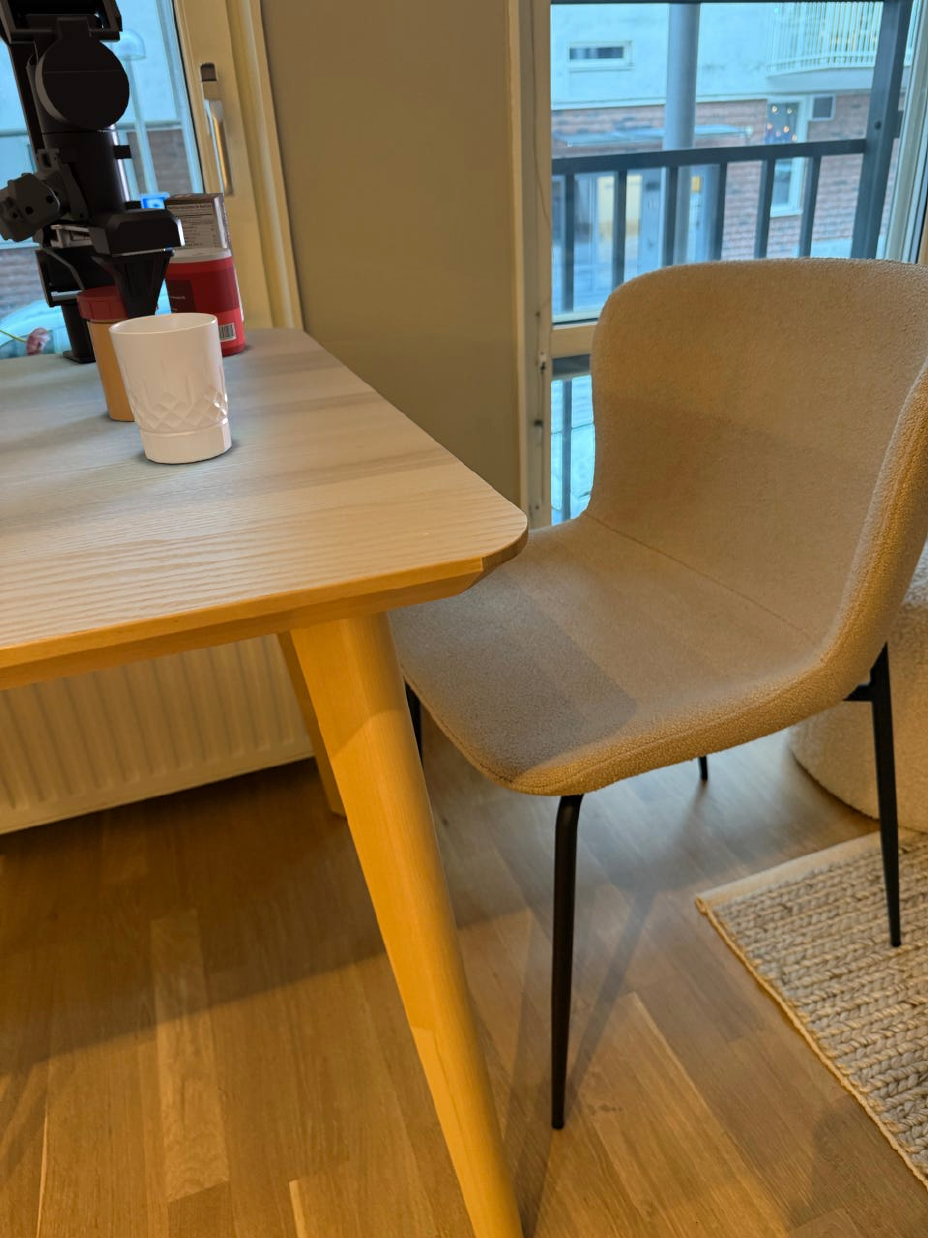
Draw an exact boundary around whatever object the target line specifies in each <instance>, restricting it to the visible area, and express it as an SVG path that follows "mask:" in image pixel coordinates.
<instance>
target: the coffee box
mask: <svg viewBox="0 0 928 1238" xmlns="http://www.w3.org/2000/svg"><path fill="white" fill-rule="evenodd" d="M162 203H163V207H164V208H163V209H168V210H169V211H170V212H171V213H173V214H174V215H175V216H176V217H177V218H178V219H179V220H180V221H181V226H182V232H183V237H184V243H185V245H184V246H182V247H173V248H171V249H174V251H179V250H187V249H197V248H227V249H230V252H231V255H232V261H233V266H234V272H235V279H236V285H237V291H238V298H239V304H240V310H241V317H242V323H244V320H245V317H244V311H243V306H242V305H243V304H242V300H241V294H240V293H241V292H240V288H239V282H238V281H239V280H238V276H237V268H236V262H235V258H234V250H233V245H232V240H231V239H232V238H231V232H230V227H229V222H228V216H227V215H228V214H227V209H226V204H225V197H224V192H211V193H208V192H191V193H190V192H189V193H178V194H174V195H171V196H169V197H166V198H165V199H162Z"/></svg>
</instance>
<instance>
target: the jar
mask: <svg viewBox="0 0 928 1238" xmlns="http://www.w3.org/2000/svg"><path fill="white" fill-rule="evenodd" d="M126 320H128V318H123V319H110V320H93V319H88V320H87V324H88V328H89V333H90V337H91V341H92V345H93V350H94V354H95V358H96V360H95V362H96V366H97V370H98V375H99V380H100V383H101V387H102V391H103V396H104V401H105V405H106V409H107V413H108V416H109V418H110V419H112V420H115V421H119V422H135V420H134V415H133V413H132V410H131V407H130V404H129V401H128V397H127V394H126V390H125V386H124V383H123V379H122V376H121V372H120V368H119V365H118V361H117V357H116V354H115V350H114V347H113V343H112V340H111V336H110V333H109V327H110V326H112V325H114V324H116V323H119V322H122V321H126Z"/></svg>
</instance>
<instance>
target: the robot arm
mask: <svg viewBox="0 0 928 1238" xmlns="http://www.w3.org/2000/svg"><path fill="white" fill-rule="evenodd" d="M122 32H124V31H123V16H122V14H121V11H120V9H119V6H118V3H117V1H116V0H0V39H1V40H2V41H3V43H4V44H5V46H6V49H7V51H8V56H9V60H10V64H11V68H12V69H11V70H12V72H13V73H12V74H13V76H14V81H15V85H16V88H17V89H16V90H17V94H18V98H19V103H20V107H21V111H22V114H23V119H24V123H25V127H26V131H27V135H28V140H29V144H30V147H31V148H30V149H31V152H32V156H33V160H34V165H35V169H36V172H33V173H32V172H22V173H21V174H20V175H21V176H19V177H16V178H13V179H7V181H6V183H7V185H6V186H5V187H3V188H1V189H0V236H1V238H2V240H3V241H6V242H7V241H10V240H12V242H13V243H21V242H24V241H27V240H28V239H30V238H31V240H32V243H35V244H38V245H39V249H34V255H35V259H36V264H37V270H38V275H39V280H40V285H41V288H42V292H43V296H44V299H45V303H46V304H47V307H49V308H50V309H53V308H55V307H60V310H61V314H62V317H63V322H64V326H65V328H66V334H67V338H68V340H69V345H70V349H68V350H63V351H62V355H63V356H64V357H66V358H68V359H71V360H73V361H76V362H78V363H88V362H93V361H96V358H95V354H94V350H93V345H92V341H91V337H90V333H89V328H88V324H87V320H88V319H85V318H82V317H81V314H80V310H79V306H78V302H77V298H76V293H77V292H80V291H83V290H87V289H92V288H98V287H105V286H115V285H116V286H117V289H118V291H119V294H120V297H121V300H122V303H123V306H124V308H125V311H126V314H127V317H128V320H130V319H134V318H140V317H146V316H153V315H156V312H157V311H156V308H157V303H158V304H159V299H160V295H161V292H162V288H163V284H164V282H165V279H164V278H165V275H166V271H167V268H168V265H169V261H170V258H171V257H174V249H172V248H173V247H182V246H184V245H185V243H184V237H183V232H182V226H181V221H180V220H179V219H178V218H177V217H176V216H175V215H174V214H173V213H171V212H170V211H169V210H168V209H165V208H159V207H144V208H143V206H142V201H141V200H137V199H132V195H131V190H130V185H129V180H128V176H127V175H128V174H127V171H126V166H125V161H124V160H132V159H133V155H132V151H131V146H130V144H121V141H120V136H119V132H118V128H117V122H119V121H120V119H122V117H123V116H124V114H125V113H126V110H127V109H128V106H129V102H130V96H131V90H130V89H131V87H130V80H129V77H128V74H127V72H126V69H125V68H124V65H123V64H122V61H121V60H120V59H119V58H118V57H117V55H116V54H115V53H114V51H112V50H111V49H110V48H109V47H108V46H107V45H106V44H104V43H110V44H111V43H119V42H120V41H121V33H122ZM69 292H76V293H69ZM52 293H57V294H58V295H52ZM62 293H66V294H62ZM67 293H68V294H67Z"/></svg>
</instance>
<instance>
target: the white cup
mask: <svg viewBox="0 0 928 1238" xmlns="http://www.w3.org/2000/svg"><path fill="white" fill-rule="evenodd" d="M109 333H110V336H111V340H112V343H113V347H114V350H115V354H116V357H117V361H118V365H119V368H120V372H121V376H122V379H123V383H124V386H125V390H126V394H127V397H128V401H129V404H130V407H131V410H132V413H133V415H134V420H135V421H134V423H135V424H136V425H137V427H138V432H139V434H140V439H141V442H142V446H143V449H144V454H145V457H146V459H148V460H150V461H153V462H155V463H159V464H186V463H195V462H199V461H203V460H207V459H212V458H214V457H217V456H220V455H222V454H224V453H226V452H227V451H228V450H229V449H230V448H231V447H232V439H231V430H230V423H229V417H228V413H229V404H228V394H227V386H226V375H225V374H226V373H225V368H224V360H223V357H222V352H221V345H220V337H219V329H218V322H217V317H216V316H214V315H210V314H204V313H174V314H171V313H164V314H155V315H153V316H146V317H140V318H134V319H130V320H126V321H122V322H119V323H116V324H114V325H112V326H110V327H109Z"/></svg>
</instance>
